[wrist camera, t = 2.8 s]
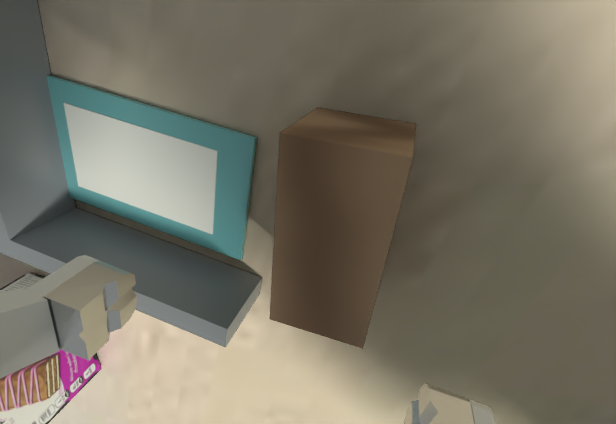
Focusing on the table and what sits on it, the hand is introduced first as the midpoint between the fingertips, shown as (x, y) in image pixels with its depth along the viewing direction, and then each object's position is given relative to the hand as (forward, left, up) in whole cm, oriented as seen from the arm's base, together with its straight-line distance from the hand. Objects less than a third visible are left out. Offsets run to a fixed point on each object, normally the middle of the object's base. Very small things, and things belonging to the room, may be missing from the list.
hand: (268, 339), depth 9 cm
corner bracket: (+12, +1, -10) cm, 15 cm away
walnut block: (0, 0, -10) cm, 10 cm away
